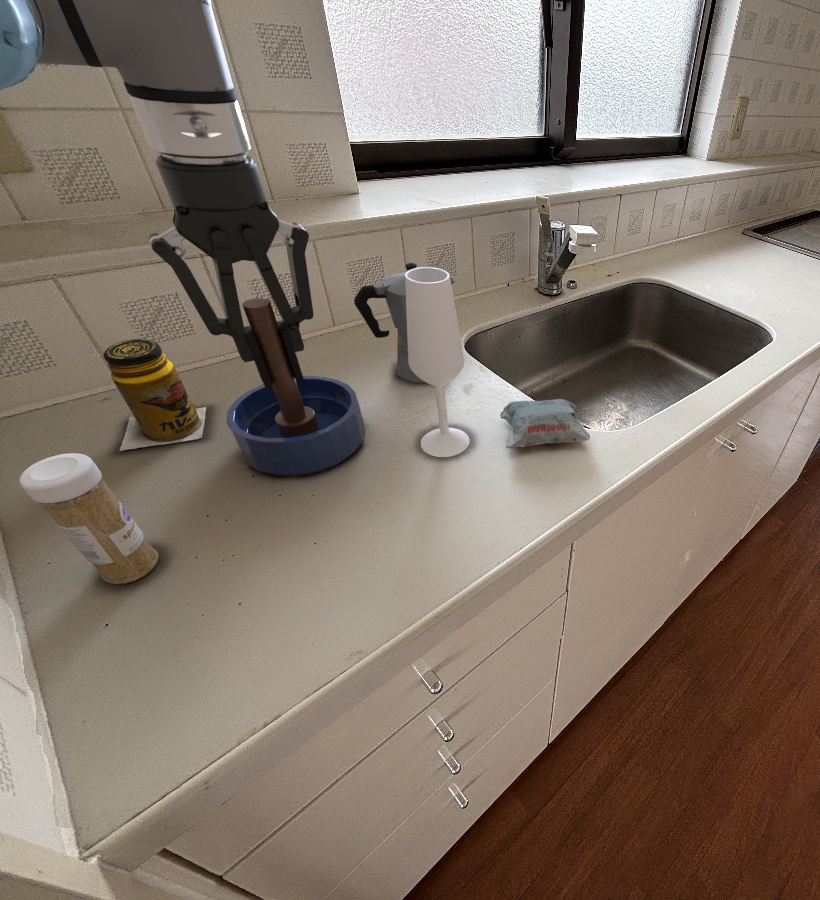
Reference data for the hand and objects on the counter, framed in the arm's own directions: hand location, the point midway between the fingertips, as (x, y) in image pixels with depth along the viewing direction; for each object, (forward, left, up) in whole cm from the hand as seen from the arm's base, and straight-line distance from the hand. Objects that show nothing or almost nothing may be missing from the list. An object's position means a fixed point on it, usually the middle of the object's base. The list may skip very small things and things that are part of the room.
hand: (282, 378), depth 59 cm
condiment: (-18, +4, -11) cm, 22 cm away
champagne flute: (+18, +1, -11) cm, 21 cm away
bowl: (0, +1, -11) cm, 11 cm away
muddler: (0, 0, -9) cm, 9 cm away
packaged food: (+32, +2, -11) cm, 34 cm away
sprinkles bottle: (-11, -19, -11) cm, 24 cm away
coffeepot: (+12, +20, -11) cm, 26 cm away
